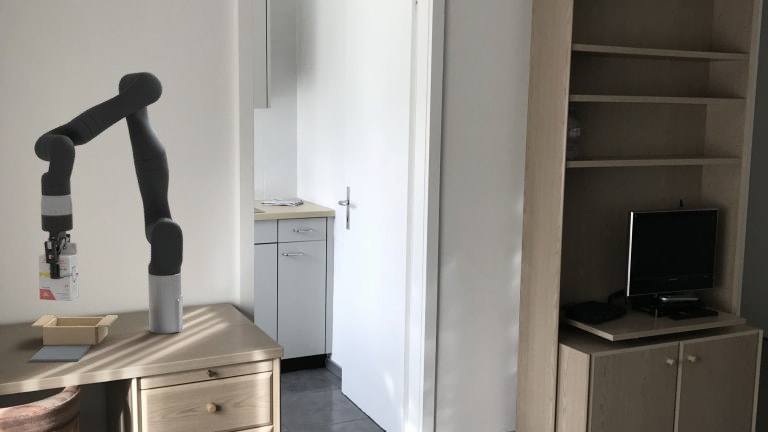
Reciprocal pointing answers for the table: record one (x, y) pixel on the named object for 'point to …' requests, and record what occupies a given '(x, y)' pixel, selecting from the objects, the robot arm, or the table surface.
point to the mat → (60, 353)
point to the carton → (74, 329)
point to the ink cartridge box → (68, 279)
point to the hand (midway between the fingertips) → (58, 276)
